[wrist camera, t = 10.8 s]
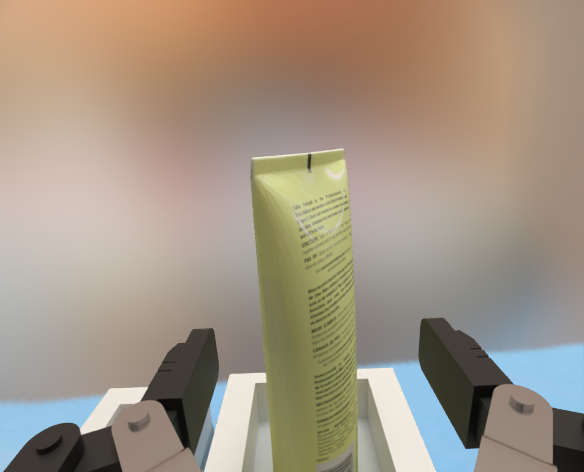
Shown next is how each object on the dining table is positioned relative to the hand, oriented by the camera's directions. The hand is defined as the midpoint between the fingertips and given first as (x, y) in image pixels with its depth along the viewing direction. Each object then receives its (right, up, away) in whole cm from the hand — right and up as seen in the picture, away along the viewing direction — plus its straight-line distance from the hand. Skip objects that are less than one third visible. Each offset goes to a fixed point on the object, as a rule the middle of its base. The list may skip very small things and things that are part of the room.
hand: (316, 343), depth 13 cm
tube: (+1, -11, +7) cm, 13 cm away
